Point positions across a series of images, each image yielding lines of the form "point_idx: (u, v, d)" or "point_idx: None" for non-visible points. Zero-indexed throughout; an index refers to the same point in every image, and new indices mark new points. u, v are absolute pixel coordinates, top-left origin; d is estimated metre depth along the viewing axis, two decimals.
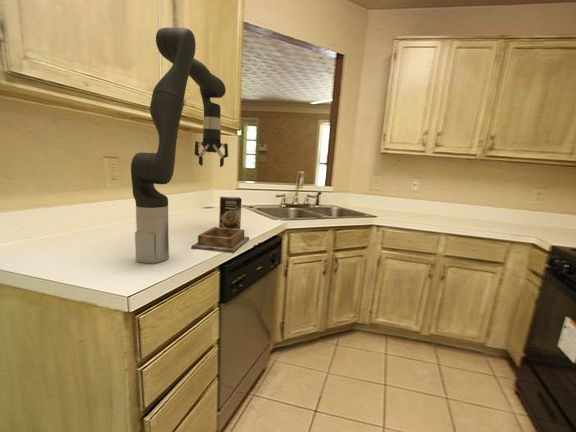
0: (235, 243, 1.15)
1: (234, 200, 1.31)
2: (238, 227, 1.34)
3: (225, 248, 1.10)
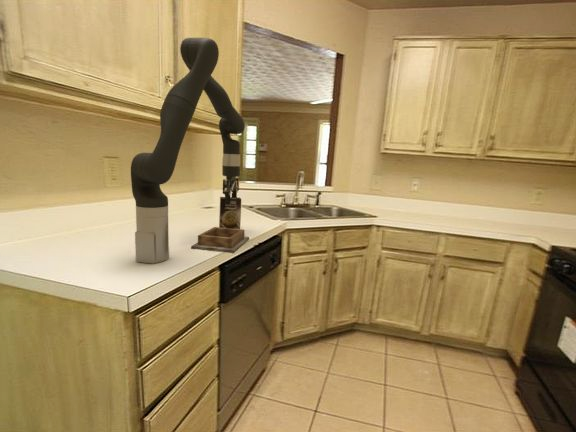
0: (235, 243, 1.15)
1: (234, 200, 1.31)
2: (238, 227, 1.34)
3: (225, 248, 1.10)
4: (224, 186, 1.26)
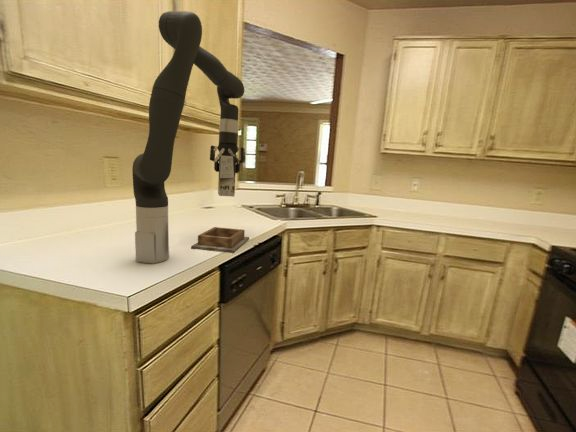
0: (235, 243, 1.15)
1: None
2: None
3: (225, 248, 1.10)
4: (244, 154, 1.23)
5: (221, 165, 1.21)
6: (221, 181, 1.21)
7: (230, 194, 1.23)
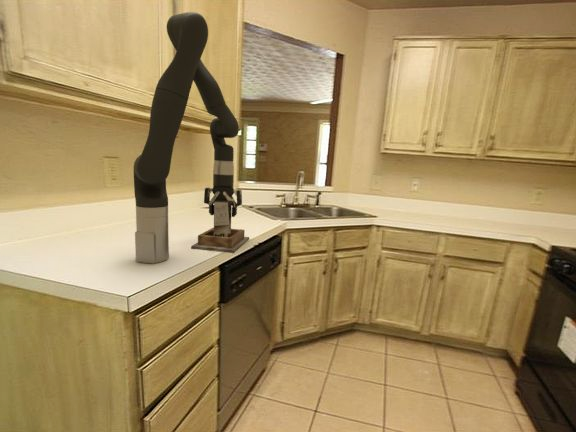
0: (235, 243, 1.15)
1: None
2: None
3: (225, 248, 1.10)
4: (240, 197, 1.15)
5: (215, 212, 1.12)
6: (215, 229, 1.13)
7: None
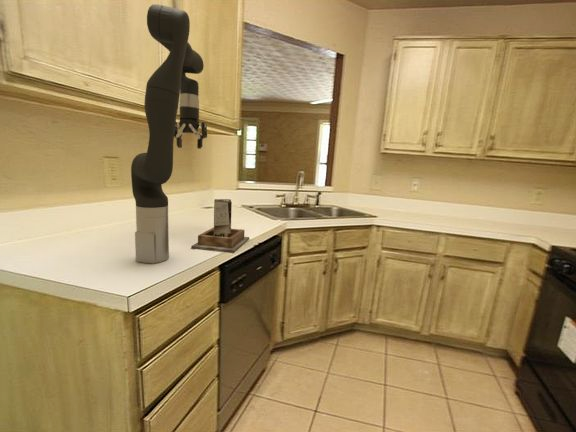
0: (235, 243, 1.15)
1: None
2: None
3: (225, 248, 1.10)
4: (205, 129, 1.24)
5: (215, 212, 1.12)
6: (216, 229, 1.13)
7: None
